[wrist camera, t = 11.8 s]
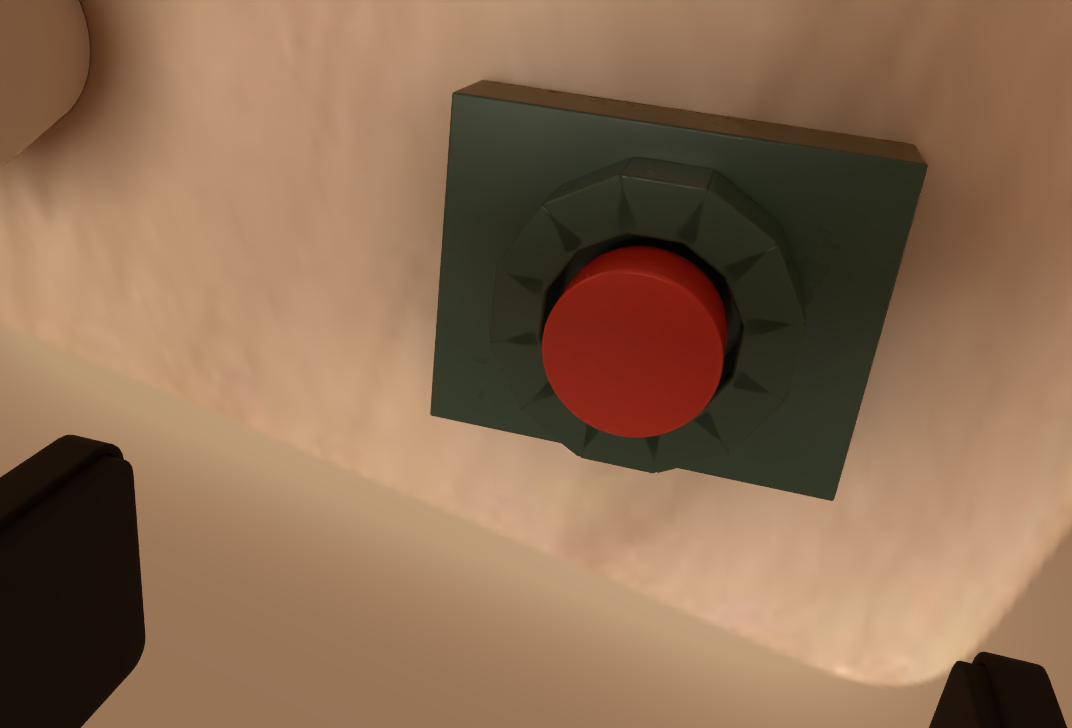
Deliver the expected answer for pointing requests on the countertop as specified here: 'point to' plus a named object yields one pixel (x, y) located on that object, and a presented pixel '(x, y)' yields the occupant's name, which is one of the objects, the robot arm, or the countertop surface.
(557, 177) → the button housing
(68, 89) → the cup
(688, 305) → the button
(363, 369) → the countertop surface
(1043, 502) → the countertop surface
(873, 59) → the countertop surface
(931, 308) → the countertop surface
